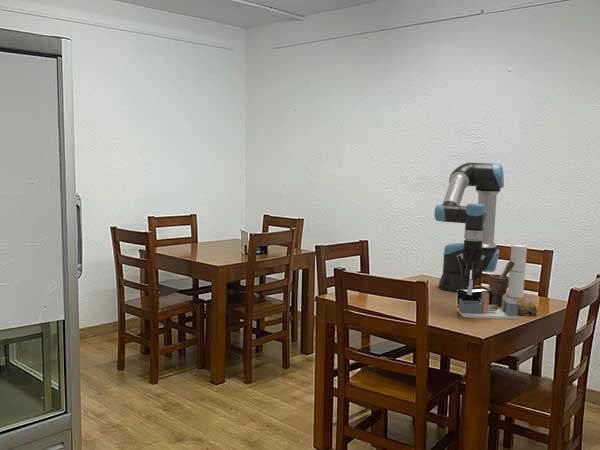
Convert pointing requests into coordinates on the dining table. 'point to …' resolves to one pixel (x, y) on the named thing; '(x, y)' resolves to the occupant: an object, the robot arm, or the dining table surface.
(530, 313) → the bread roll
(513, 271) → the cylindrical container
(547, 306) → the dining table surface
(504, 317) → the guide base
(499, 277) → the mortar and pestle
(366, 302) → the dining table surface
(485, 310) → the slip tube
